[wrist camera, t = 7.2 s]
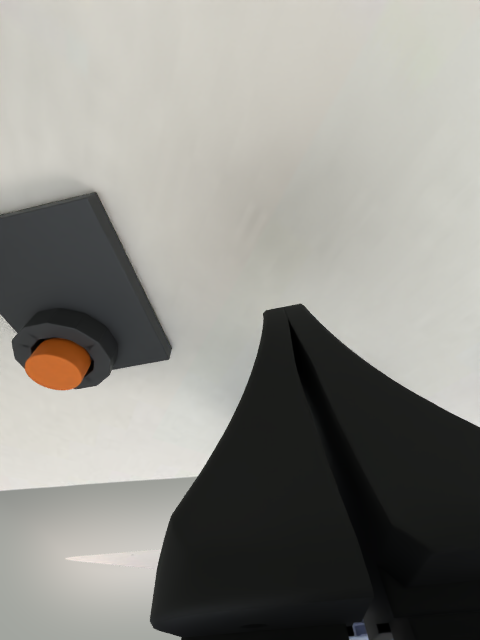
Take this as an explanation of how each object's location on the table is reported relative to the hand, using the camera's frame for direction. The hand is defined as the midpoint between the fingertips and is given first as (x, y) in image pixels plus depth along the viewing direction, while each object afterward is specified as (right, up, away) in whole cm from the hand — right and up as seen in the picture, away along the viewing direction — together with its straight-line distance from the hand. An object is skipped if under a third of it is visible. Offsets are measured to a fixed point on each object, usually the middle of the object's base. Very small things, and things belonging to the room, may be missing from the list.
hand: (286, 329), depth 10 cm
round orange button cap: (-15, -2, +10) cm, 18 cm away
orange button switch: (-14, +2, +11) cm, 18 cm away
